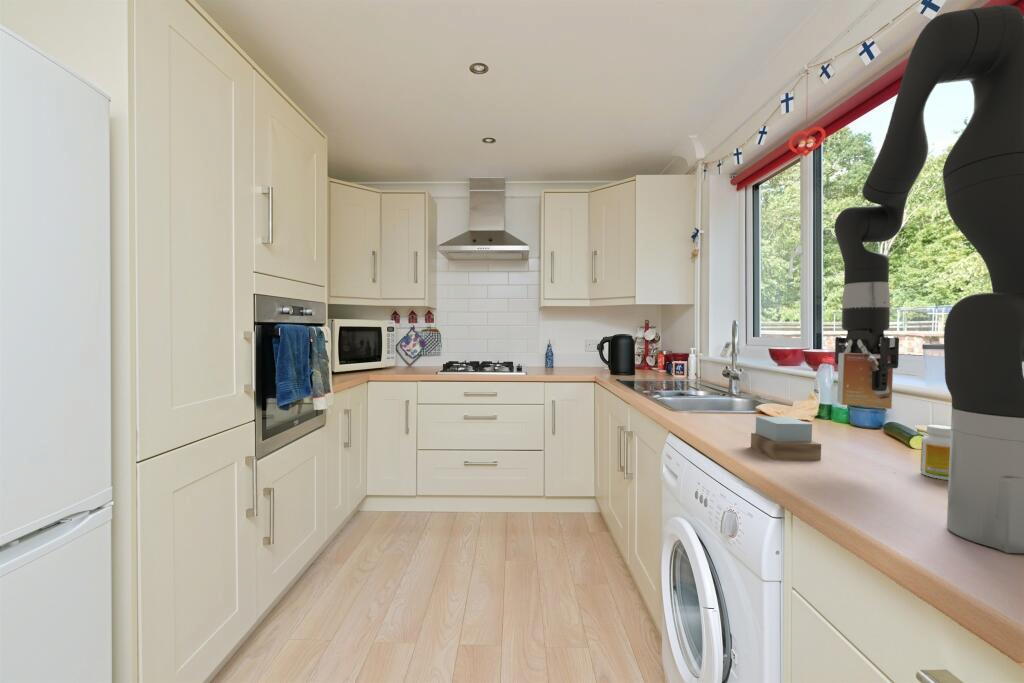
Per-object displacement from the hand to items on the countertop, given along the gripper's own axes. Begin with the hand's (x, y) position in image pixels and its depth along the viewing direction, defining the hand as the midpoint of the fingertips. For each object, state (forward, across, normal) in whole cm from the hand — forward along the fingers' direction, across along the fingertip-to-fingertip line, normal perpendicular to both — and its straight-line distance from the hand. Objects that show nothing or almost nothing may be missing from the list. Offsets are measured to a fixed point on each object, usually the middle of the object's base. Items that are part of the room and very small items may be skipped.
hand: (863, 388), depth 91 cm
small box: (+4, 0, 0) cm, 4 cm away
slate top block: (+13, +13, +9) cm, 20 cm away
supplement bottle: (+17, -2, -13) cm, 21 cm away
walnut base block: (+17, +12, +9) cm, 23 cm away
